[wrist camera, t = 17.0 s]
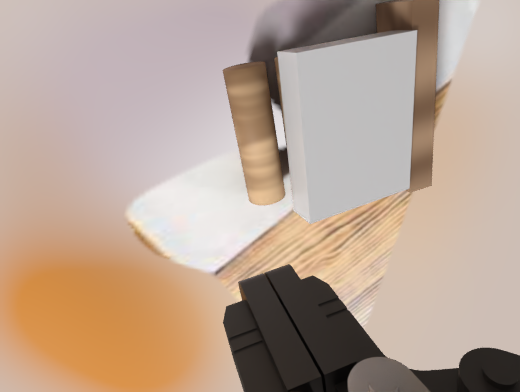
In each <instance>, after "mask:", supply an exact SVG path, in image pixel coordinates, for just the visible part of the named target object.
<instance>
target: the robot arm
mask: <svg viewBox="0 0 520 392" xmlns="http://www.w3.org/2000/svg"><path fill="white" fill-rule="evenodd" d="M238 284H239V289H240V293H241V297H242V301H240V302H238V303H235V304H232V305H229V306H227V307H226V311H225V316H224V321H223V324H224V327H225V331H226V334H227V338H228V341H229V345H230V348H231V352H232V355H233V359H234V362H235V365H236V369H237V372H238V375H239V378H240V381H241V384H242V387H243V390H244V392H520V356H519V355H516V354H513V353H510V352H507V351H503V350H499V349H495V348H478V349H474V350H471V351H469V352H467V353H466V354H465V355H464V356H463V357H462V359H461V361H460V364H459V368H454V369H442V370H431V371H419V370H412V369H408V368H407V367H406V366H405V365H403V364H402V363H400V362H398V361H396V360H393V359H390V358H387V357H386V356H385V355H384V354H383V353H382V352H381V351H380V349H379V348H378V347H377V346H376V344H375V343H374V342H373V341H372V339H371V338H370V337H369V335H368V334H367V333H366V332H365V330H364V329H363V328H362V326H361V325H360V324H359V323H358V321H357V320H356V319H355V318H354V316H353V315H352V314H351V312H350V311H348V310H347V307H346V306H345V305H344V304H343V302H342V301H341V300H339V298H338V296H337V295H336V293H335V292H334V291H333V290H332V288H331V287H330V286H329V284H327V283H325V282H324V281H322V280H320V279H318V278H316V277H315V276H310V277H307V278H305V279H302V280H301V279H300V278H299V277H298V275H297V274H296V272H295V271H294V269H293V268H292V266H291V265H289V264H288V265H285V266H282V267H280V268H277V269H274V270H271V271H268V272H265V273H264V274H260V275H257V276H254V277H251V278H248V279H245V280H242V281H239V282H238Z"/></svg>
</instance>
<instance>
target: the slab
mask: <svg viewBox="0 0 520 392" xmlns="http://www.w3.org/2000/svg"><path fill="white" fill-rule="evenodd" d="M416 46H417V30H395V31H386V32H381V33H375V34H370V35H364V36H359V37H353V38H348V39H342V40H337V41H332V42H326V43H321V44H315V45H310V46H304V47H299V48H294V49H288V50H283V51H277V53H278V63H279V73H280V83H281V93H282V102H283V112H284V122H285V132H286V142H287V151H288V161H289V171H290V181H291V190H292V200H293V210H294V211H295V212H296V213H297V214H299V215H300V216H301V217H302V218H304V219H305V220H306V221H307V222H308V223H310V224H311V223H314V222H317V221H320V220H323V219H325V218H328V217H331V216H334V215H337V214H339V213H342V212H345V211H348V210H351V209H353V208H356V207H359V206H362V205H365V204H367V203H370V202H373V201H376V200H379V199H381V198H384V197H387V196H390V195H393V194H395V193H398V192H401V191H404V190H407V189H409V188H410V169H411V148H412V128H413V107H414V87H415V66H416Z"/></svg>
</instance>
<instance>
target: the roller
mask: <svg viewBox="0 0 520 392" xmlns="http://www.w3.org/2000/svg"><path fill="white" fill-rule="evenodd" d="M223 74H224V79H225V83H226V89H227V94H228V98H229V103H230V108H231V113H232V118H233V123H234V127H235V133H236V137H237V142H238V147H239V152H240V157H241V162H242V167H243V172H244V177H245V182H246V187H247V192H248V197H249V201H250V202H251V203H253V204H255V205H269V204H273V203H276V202H278V201H280V200H282V199H283V198H284V196H285V189H284V182H283V176H282V169H281V163H280V156H279V150H278V143H277V137H276V130H275V124H274V117H273V111H272V104H271V98H270V91H269V85H268V78H267V72H266V65H265V62H250V63H244V64H240V65H235V66H231V67H228V68H226V69H224V70H223Z"/></svg>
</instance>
